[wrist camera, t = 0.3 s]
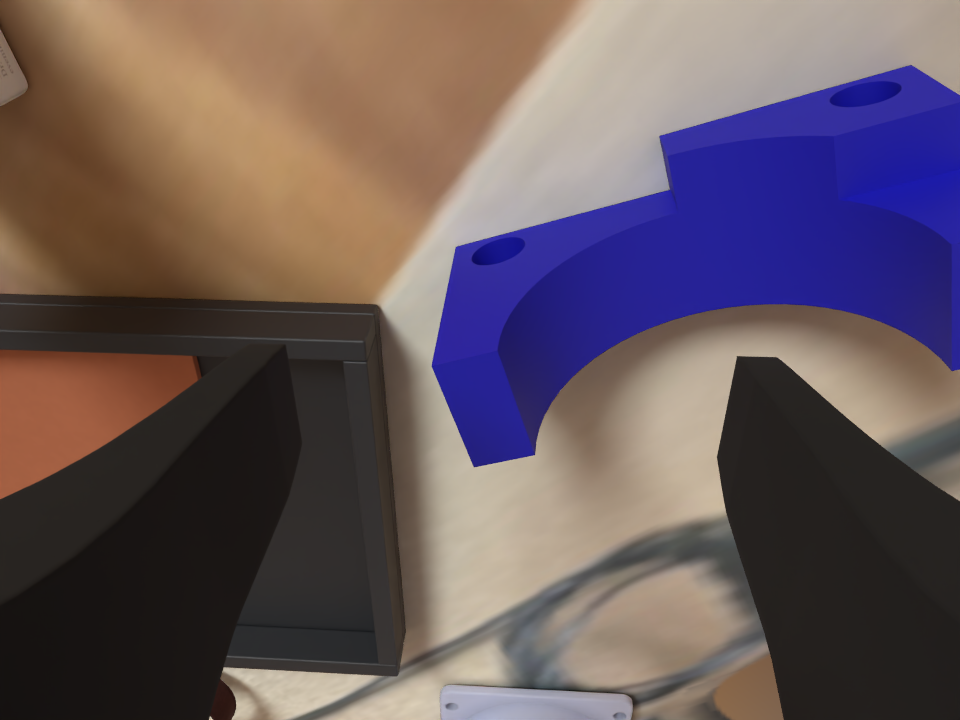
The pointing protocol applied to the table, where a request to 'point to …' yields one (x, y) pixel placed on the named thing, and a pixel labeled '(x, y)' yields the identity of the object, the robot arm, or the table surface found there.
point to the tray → (319, 474)
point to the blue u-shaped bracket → (718, 248)
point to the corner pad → (76, 405)
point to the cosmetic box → (10, 74)
